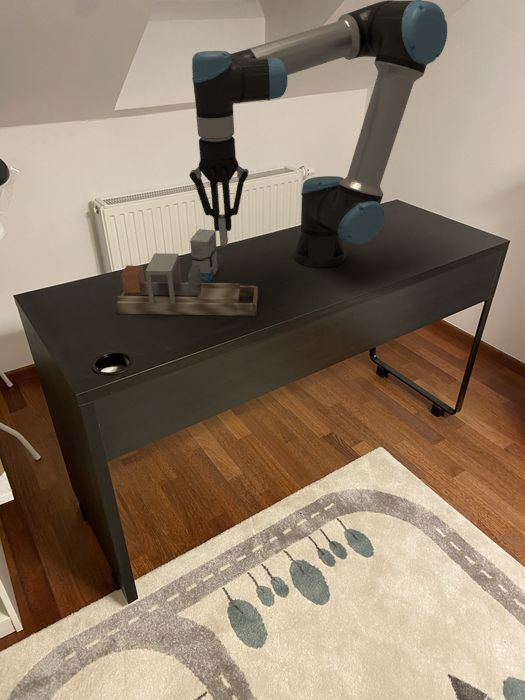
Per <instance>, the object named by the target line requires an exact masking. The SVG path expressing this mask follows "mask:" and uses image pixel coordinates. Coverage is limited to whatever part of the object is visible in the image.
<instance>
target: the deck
mask: <svg viewBox="0 0 525 700" xmlns="http://www.w3.org/2000/svg"><path fill="white" fill-rule="evenodd" d="M145 283H147V281H145ZM152 283H168V282H157V281H152ZM173 284H188V282H181V283H178V282H173ZM116 299H117V302H116V305H117V312H118V314H123V315H124V314H125V315H126V314H130V315H140V314H141V315H179V316H180V315H186V316H188V315H190V316H197V315H198V316H245V317H247V316H248V317H249V316H250V317H251V316H252V317H253V316H254V317H255V316H257V311H258V310H257V308H258V300H259V286H258V285H241V283H239V282H238V283H237V282H236V283H235V282H232V283H231V282H201V290H200V294H199V297H175V304H171V303H170V297H161V296H154V300H155V302H154V303H150V300H149V296H124V290H123V291H122V293H121V295H117V297H116Z"/></svg>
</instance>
